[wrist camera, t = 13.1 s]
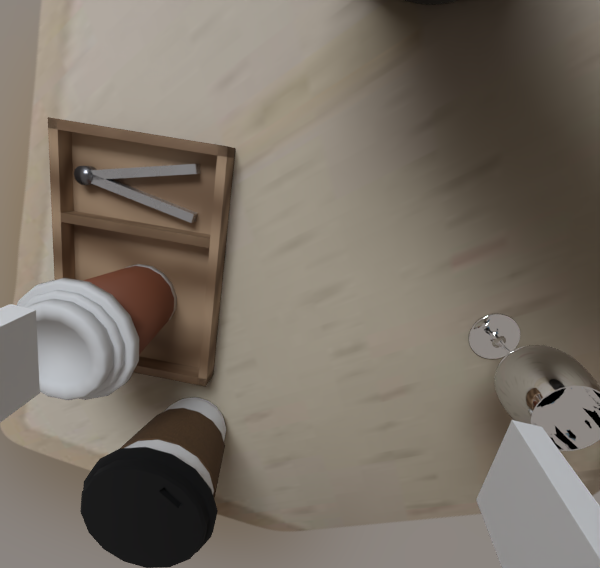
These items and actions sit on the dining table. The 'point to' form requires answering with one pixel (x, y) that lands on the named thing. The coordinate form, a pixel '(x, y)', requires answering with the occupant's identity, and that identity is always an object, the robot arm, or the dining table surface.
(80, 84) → the dining table surface
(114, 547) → the coffee cup
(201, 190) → the walnut caddy
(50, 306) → the coffee cup
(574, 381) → the wineglass
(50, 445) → the dining table surface
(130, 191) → the steel tongs
